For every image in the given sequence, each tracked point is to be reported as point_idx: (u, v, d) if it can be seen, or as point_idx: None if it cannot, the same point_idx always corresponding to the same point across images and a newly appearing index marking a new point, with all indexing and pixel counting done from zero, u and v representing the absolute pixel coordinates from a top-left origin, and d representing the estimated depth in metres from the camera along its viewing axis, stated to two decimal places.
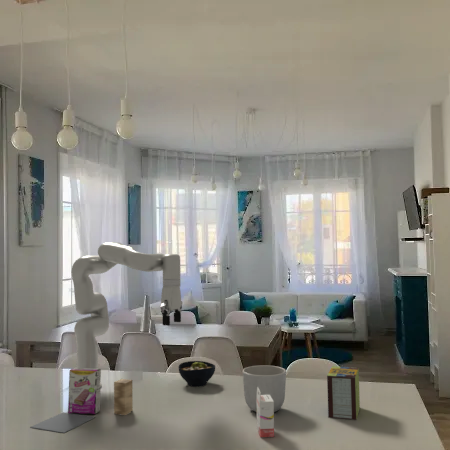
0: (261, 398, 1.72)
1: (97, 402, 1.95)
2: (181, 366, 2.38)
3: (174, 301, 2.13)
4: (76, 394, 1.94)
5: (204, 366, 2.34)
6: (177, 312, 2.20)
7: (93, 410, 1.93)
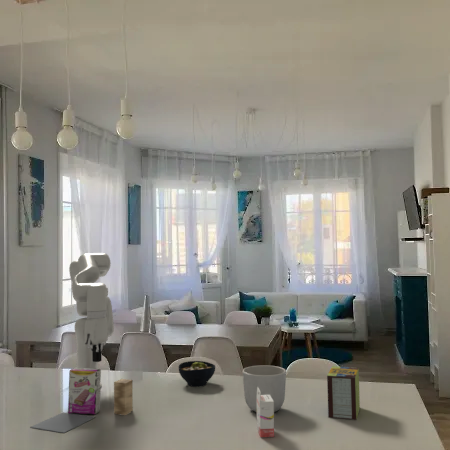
0: (261, 398, 1.72)
1: (97, 402, 1.95)
2: (181, 366, 2.38)
3: (98, 334, 2.01)
4: (76, 394, 1.94)
5: (204, 366, 2.34)
6: None
7: (93, 410, 1.93)
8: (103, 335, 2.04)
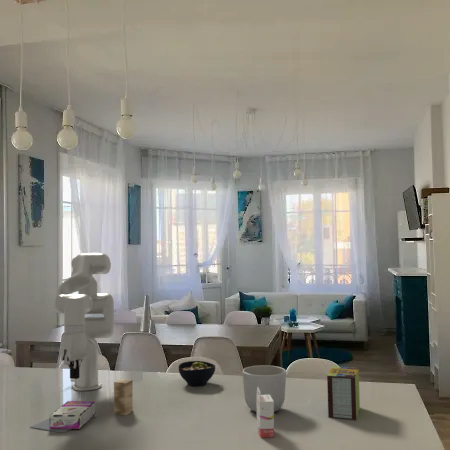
0: (261, 398, 1.72)
1: (91, 412, 1.89)
2: (181, 366, 2.38)
3: (76, 350, 1.89)
4: None
5: (204, 366, 2.34)
6: None
7: None
8: (81, 350, 1.92)
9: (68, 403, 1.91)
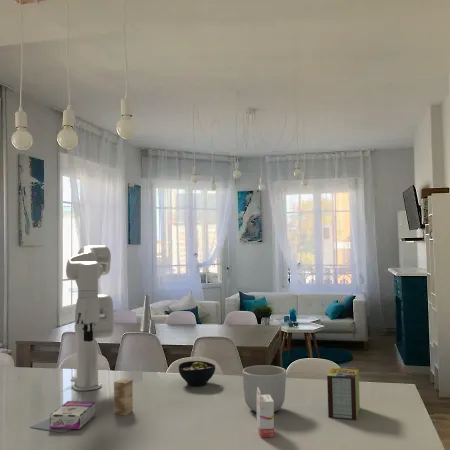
0: (261, 398, 1.72)
1: (91, 412, 1.89)
2: (181, 366, 2.38)
3: (90, 314, 1.97)
4: None
5: (204, 366, 2.34)
6: None
7: None
8: (95, 314, 2.00)
9: (68, 403, 1.91)
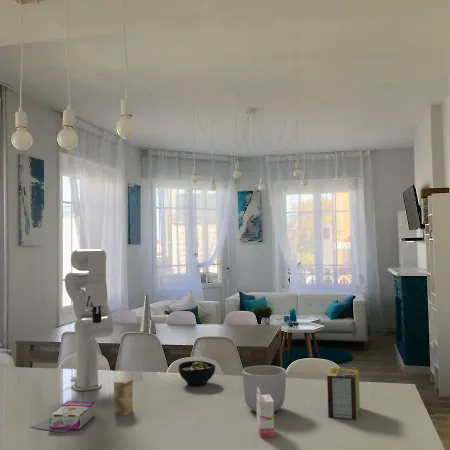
0: (261, 398, 1.72)
1: (91, 412, 1.89)
2: (181, 366, 2.38)
3: (98, 297, 2.12)
4: None
5: (204, 366, 2.34)
6: None
7: None
8: (103, 298, 2.15)
9: (68, 403, 1.91)
